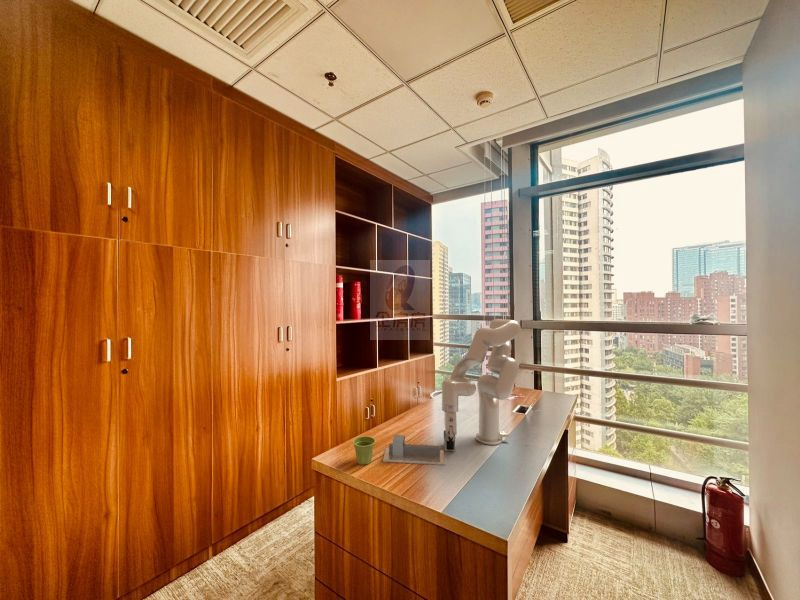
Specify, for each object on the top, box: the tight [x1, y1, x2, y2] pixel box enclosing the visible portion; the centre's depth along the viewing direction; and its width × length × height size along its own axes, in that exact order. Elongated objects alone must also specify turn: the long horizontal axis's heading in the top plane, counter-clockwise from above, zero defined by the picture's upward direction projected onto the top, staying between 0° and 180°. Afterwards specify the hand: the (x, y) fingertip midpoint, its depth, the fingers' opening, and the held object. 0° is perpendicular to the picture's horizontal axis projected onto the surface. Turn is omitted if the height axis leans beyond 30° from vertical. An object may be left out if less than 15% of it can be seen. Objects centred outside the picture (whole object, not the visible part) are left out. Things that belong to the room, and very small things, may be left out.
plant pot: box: [352, 435, 376, 466], centre depth 132 cm, size 9×9×9 cm
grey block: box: [443, 429, 456, 452], centre depth 145 cm, size 5×6×7 cm
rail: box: [382, 434, 446, 466], centre depth 137 cm, size 26×11×8 cm, turn 86°
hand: (449, 445), depth 145 cm, fingers closed on grey block, 6 cm apart
